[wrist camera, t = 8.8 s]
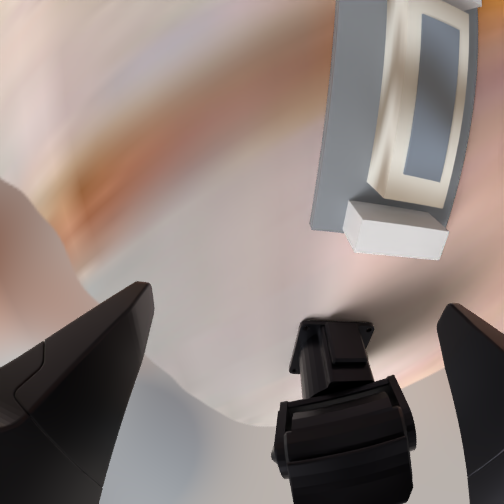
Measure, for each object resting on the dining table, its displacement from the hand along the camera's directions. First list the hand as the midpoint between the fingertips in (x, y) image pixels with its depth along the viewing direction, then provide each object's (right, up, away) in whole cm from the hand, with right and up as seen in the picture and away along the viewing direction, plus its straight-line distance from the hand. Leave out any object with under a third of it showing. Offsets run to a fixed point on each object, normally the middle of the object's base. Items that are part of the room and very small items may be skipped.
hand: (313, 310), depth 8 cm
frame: (+8, +11, +6) cm, 15 cm away
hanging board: (+8, +11, +7) cm, 16 cm away
